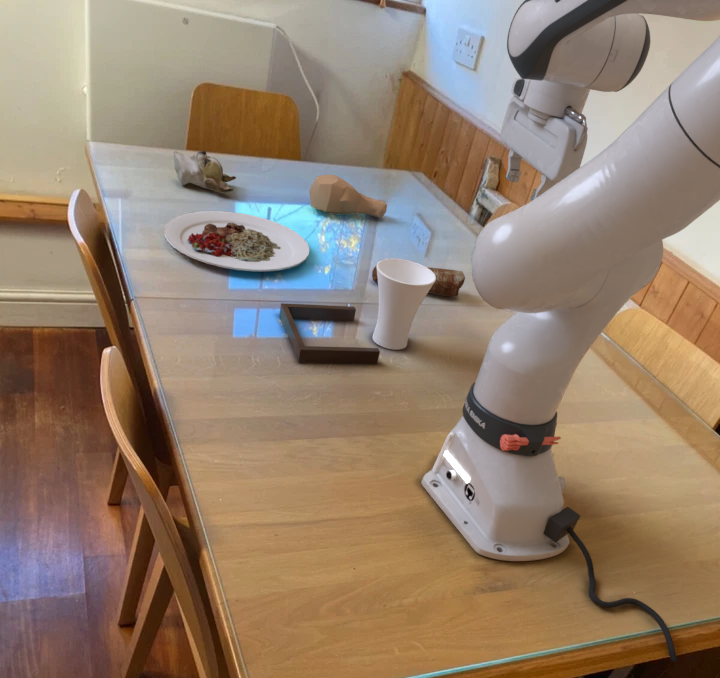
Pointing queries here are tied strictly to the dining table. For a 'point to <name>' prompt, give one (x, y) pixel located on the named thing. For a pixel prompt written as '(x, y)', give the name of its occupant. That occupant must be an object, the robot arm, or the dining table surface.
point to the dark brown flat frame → (316, 352)
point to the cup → (399, 299)
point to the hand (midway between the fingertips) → (523, 191)
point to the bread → (441, 281)
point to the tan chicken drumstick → (342, 198)
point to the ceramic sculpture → (201, 171)
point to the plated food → (236, 241)
